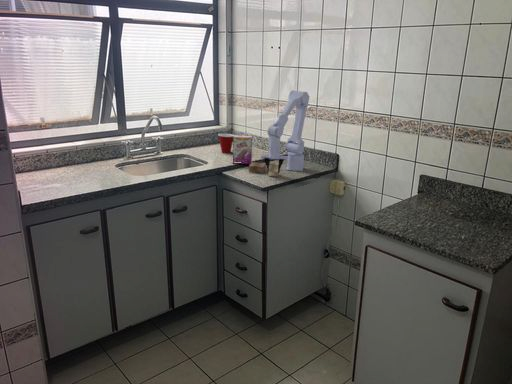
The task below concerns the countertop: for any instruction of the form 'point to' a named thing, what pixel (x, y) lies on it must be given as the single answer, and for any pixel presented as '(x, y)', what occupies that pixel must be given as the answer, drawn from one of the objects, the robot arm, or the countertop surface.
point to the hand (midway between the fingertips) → (273, 172)
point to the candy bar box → (242, 149)
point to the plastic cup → (226, 142)
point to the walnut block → (257, 167)
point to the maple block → (273, 169)
